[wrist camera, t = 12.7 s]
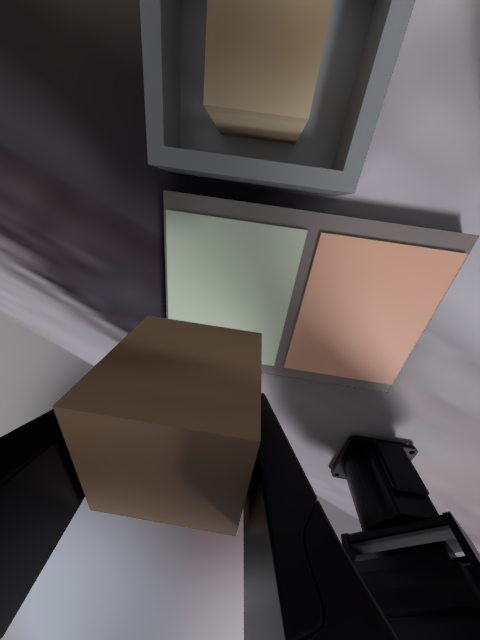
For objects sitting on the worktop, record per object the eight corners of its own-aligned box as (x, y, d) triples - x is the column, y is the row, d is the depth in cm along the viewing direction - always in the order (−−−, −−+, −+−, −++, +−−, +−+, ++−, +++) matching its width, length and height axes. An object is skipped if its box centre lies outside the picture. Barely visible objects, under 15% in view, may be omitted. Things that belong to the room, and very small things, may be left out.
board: (380, 382, 19) (388, 394, 18) (172, 349, 20) (166, 358, 18) (462, 233, 14) (482, 235, 12) (170, 191, 14) (161, 189, 13)
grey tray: (336, 195, 13) (354, 193, 11) (170, 172, 14) (147, 164, 11) (396, -16, 10) (446, -100, 7) (167, -43, 10) (132, -135, 7)
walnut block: (246, 413, 10) (235, 536, 6) (153, 398, 10) (90, 509, 6) (261, 333, 8) (260, 441, 4) (147, 315, 8) (52, 406, 4)
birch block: (295, 144, 12) (308, 119, 8) (220, 134, 12) (203, 105, 8) (316, 34, 10) (345, -58, 7) (228, 23, 10) (210, -74, 7)
